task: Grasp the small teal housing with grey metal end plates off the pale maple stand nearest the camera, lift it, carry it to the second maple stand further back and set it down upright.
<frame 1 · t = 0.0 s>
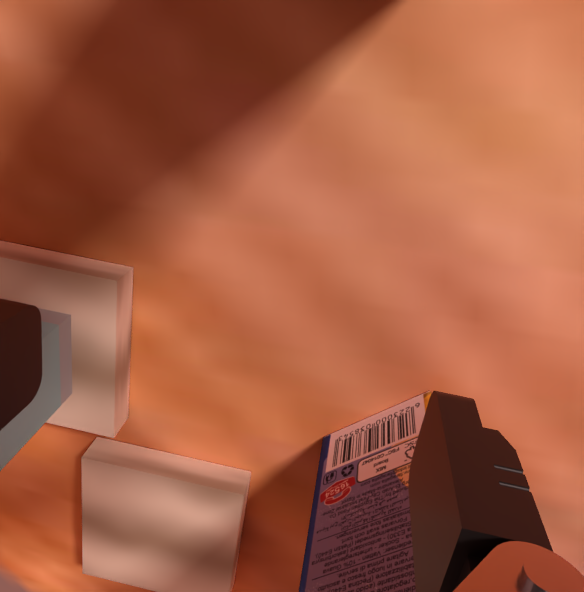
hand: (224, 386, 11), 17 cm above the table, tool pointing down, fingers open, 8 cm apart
housing: (28, 346, 30), point 2 cm above the table, touching stand a
blue food carton: (420, 480, 33), on the table
stand a: (48, 329, 32), on the table
stand b: (168, 513, 37), on the table
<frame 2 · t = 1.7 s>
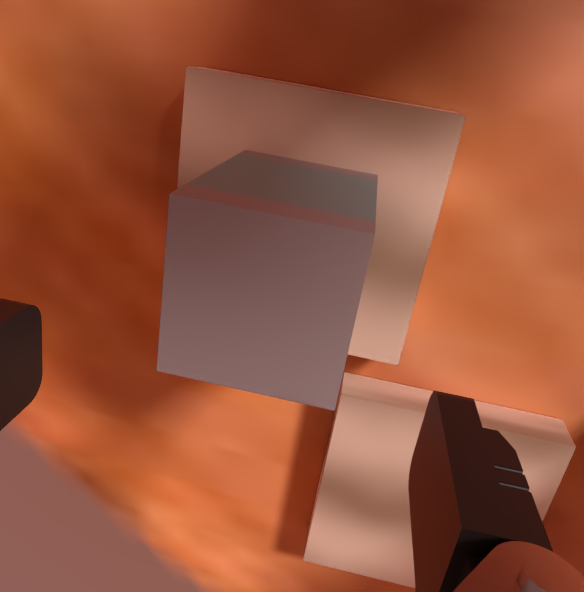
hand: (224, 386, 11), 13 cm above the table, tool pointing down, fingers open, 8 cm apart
housing: (299, 226, 21), point 2 cm above the table, touching stand a
stand a: (306, 214, 23), on the table
stand b: (424, 479, 27), on the table
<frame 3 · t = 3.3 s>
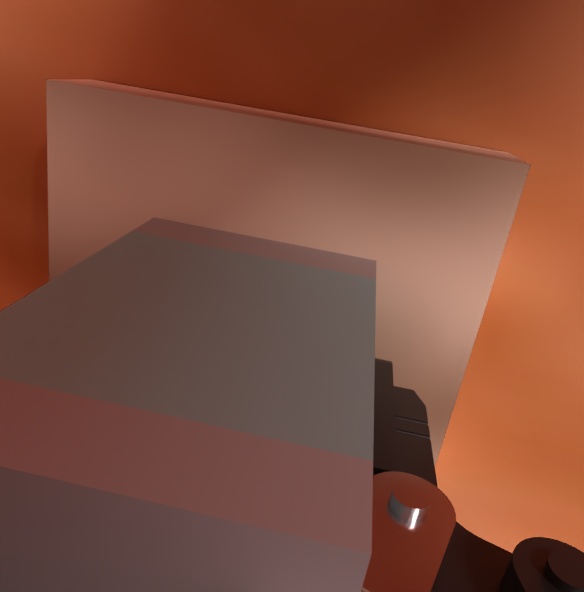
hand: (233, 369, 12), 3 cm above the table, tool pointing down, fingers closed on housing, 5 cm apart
housing: (249, 339, 13), point 2 cm above the table, touching gripper, stand a
stand a: (265, 307, 15), on the table
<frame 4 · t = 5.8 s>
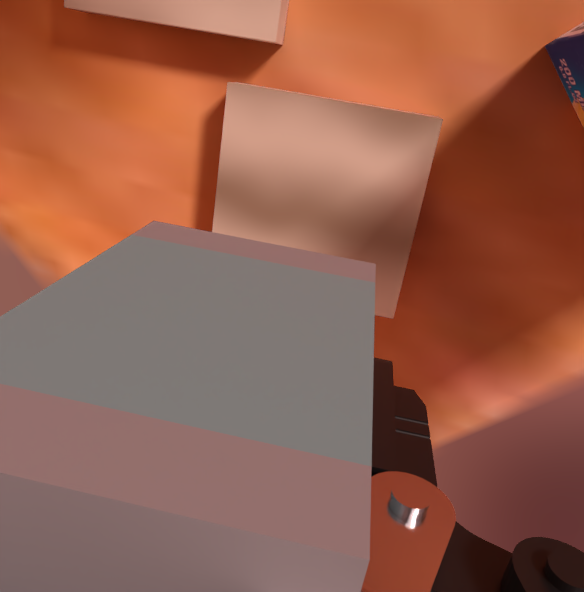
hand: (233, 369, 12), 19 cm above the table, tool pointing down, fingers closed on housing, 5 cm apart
housing: (248, 342, 13), point 17 cm above the table, touching gripper
stand b: (319, 199, 29), on the table
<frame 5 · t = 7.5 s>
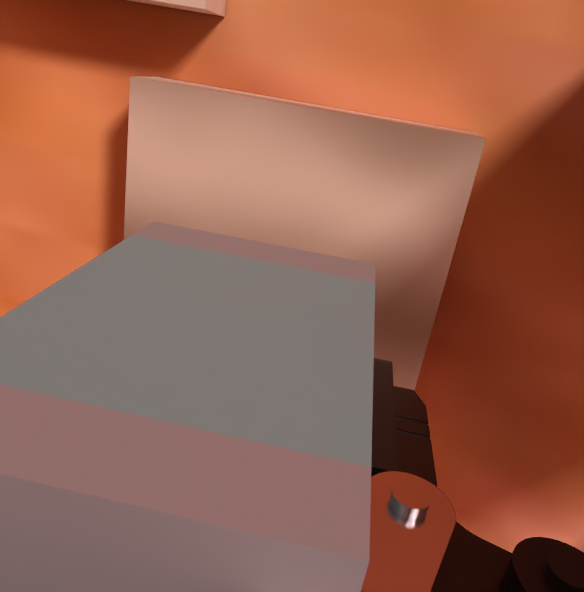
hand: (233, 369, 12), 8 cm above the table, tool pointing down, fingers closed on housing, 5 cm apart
housing: (248, 342, 13), point 6 cm above the table, touching gripper
stand b: (287, 255, 19), on the table
when the fingers open (5 cm above the table, at t = 8.7 s): housing drops 1 cm, resting on stand b.
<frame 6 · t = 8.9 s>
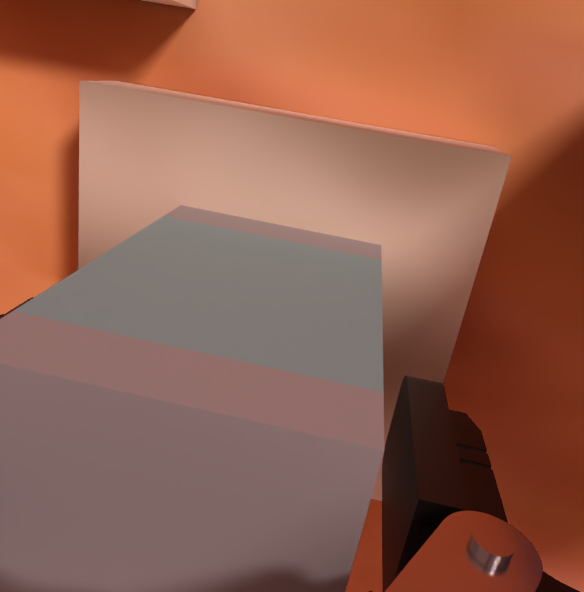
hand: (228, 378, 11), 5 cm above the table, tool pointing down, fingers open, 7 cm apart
housing: (265, 316, 14), point 2 cm above the table, touching stand b
stand b: (273, 289, 16), on the table
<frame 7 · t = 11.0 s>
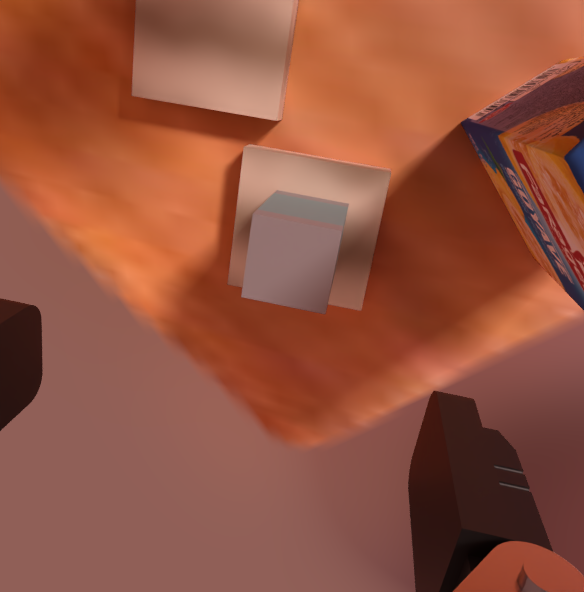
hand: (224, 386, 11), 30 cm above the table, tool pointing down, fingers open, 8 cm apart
housing: (306, 232, 39), point 2 cm above the table, touching stand b
blue food carton: (545, 164, 37), on the table
stand a: (219, 29, 37), on the table
stand b: (308, 225, 40), on the table
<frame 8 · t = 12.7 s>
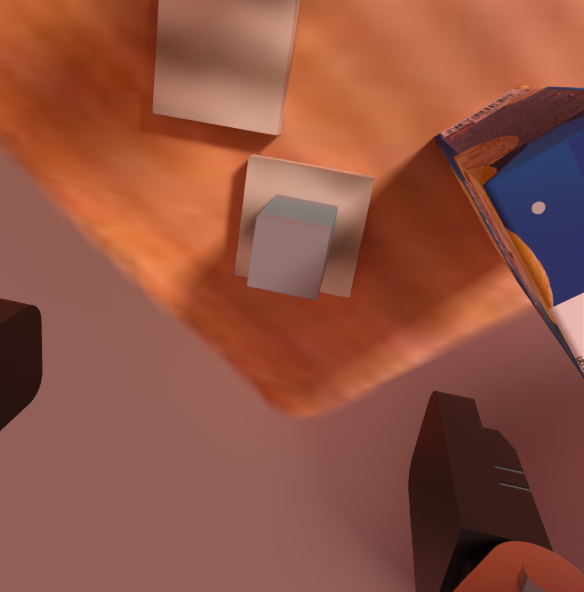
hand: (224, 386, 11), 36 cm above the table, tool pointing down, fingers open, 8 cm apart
housing: (302, 230, 45), point 2 cm above the table, touching stand b
blue food carton: (506, 173, 43), on the table
stand a: (227, 55, 43), on the table
stand b: (303, 224, 47), on the table
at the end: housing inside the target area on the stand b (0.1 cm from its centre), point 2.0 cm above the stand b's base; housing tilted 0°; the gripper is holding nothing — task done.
